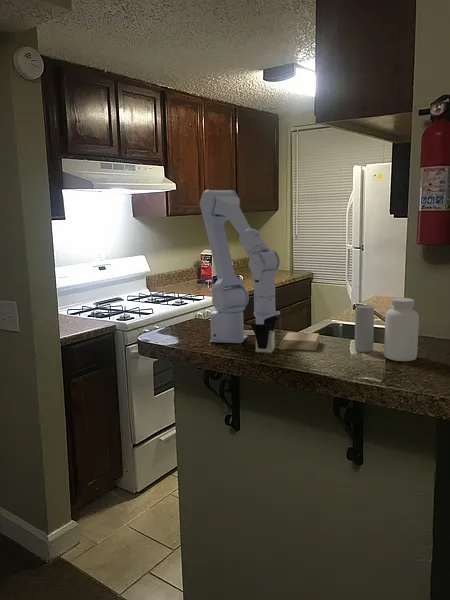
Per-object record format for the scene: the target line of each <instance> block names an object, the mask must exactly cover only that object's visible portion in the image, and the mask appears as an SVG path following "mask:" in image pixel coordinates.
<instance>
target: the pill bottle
mask: <svg viewBox="0 0 450 600" xmlns="http://www.w3.org/2000/svg"><path fill="white" fill-rule="evenodd" d="M414 306H415V299H413V298H408V297H394V298H392V299H391V305H390V309H388V310H387V311H386V312H385V316H384V317H385V318H384V320H385V321H384V340H383V341H384V345H383V356H384V357H385V358H386V359H389V360H392V361H396V362H411V361H415V360H416V359H417V357H418V346H419V345H418V343H419V341H418V340H419V321H420V316H419V313H418V312H417V310H415V309H414Z"/></svg>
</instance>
